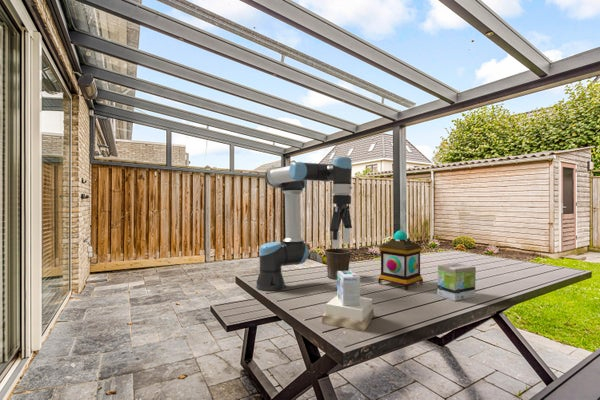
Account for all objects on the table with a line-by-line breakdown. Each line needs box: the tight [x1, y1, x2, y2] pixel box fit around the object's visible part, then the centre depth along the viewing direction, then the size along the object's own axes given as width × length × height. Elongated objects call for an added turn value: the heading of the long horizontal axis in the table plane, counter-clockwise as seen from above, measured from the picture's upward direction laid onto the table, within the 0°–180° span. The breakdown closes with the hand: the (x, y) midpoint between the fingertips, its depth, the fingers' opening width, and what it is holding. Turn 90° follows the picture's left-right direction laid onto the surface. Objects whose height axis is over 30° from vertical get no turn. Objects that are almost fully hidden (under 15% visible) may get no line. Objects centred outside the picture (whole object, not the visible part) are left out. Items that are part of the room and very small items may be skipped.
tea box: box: [436, 263, 477, 302], centre depth 145 cm, size 15×10×15 cm, turn 118°
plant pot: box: [324, 248, 352, 281], centre depth 181 cm, size 16×16×16 cm
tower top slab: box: [325, 295, 373, 321], centre depth 116 cm, size 14×14×4 cm
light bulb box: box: [336, 270, 361, 306], centre depth 117 cm, size 11×7×11 cm, turn 5°
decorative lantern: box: [377, 230, 424, 292], centre depth 165 cm, size 20×20×30 cm
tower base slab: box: [321, 307, 375, 332], centre depth 117 cm, size 16×16×4 cm
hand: (341, 245), depth 125 cm, fingers open, 13 cm apart
